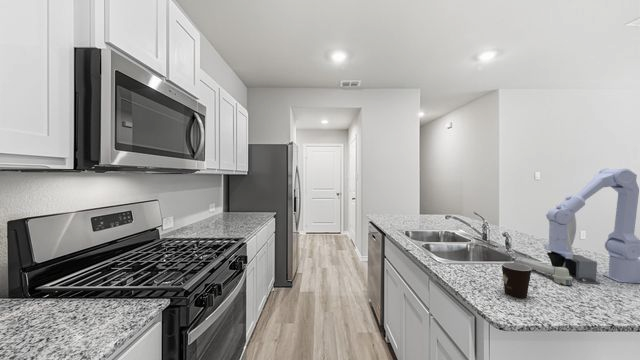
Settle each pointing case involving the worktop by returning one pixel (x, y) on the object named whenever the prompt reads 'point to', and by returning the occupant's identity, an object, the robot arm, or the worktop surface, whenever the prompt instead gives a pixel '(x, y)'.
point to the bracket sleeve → (582, 269)
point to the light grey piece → (547, 270)
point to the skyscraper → (571, 234)
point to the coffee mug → (516, 279)
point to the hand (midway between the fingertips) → (557, 271)
